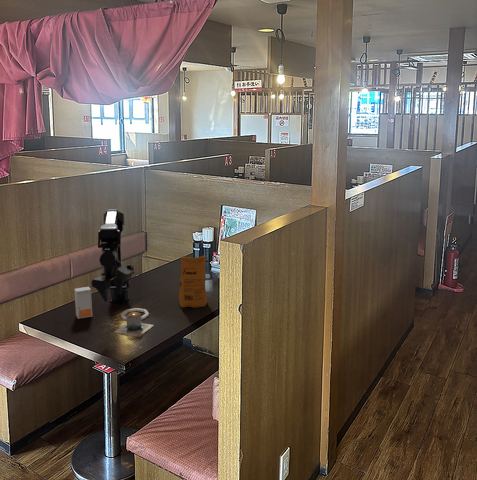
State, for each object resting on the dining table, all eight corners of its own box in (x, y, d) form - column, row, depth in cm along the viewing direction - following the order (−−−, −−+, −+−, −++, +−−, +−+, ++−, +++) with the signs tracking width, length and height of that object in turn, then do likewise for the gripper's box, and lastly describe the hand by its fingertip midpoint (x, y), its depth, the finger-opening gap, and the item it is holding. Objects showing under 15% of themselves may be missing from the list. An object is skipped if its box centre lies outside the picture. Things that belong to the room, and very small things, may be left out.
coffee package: (180, 299, 231) (178, 252, 225) (207, 299, 231) (207, 253, 225) (177, 308, 221) (176, 259, 215) (206, 308, 221) (206, 259, 216)
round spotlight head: (138, 332, 196) (138, 318, 195) (122, 329, 199) (121, 315, 197) (146, 326, 201) (145, 312, 200) (130, 324, 204) (129, 310, 202)
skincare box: (78, 319, 209) (75, 291, 206) (76, 315, 213) (73, 288, 209) (93, 316, 212) (91, 289, 209) (90, 313, 215) (88, 286, 212)
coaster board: (114, 332, 197) (114, 331, 197) (129, 321, 207) (129, 320, 207) (139, 337, 193) (139, 336, 193) (153, 325, 203) (153, 324, 203)
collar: (116, 318, 210) (116, 316, 210) (130, 308, 220) (130, 307, 220) (139, 322, 206) (139, 320, 206) (152, 312, 216) (152, 310, 216)
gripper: (115, 268, 185) (117, 309, 189) (141, 255, 202) (143, 292, 206) (88, 265, 188) (91, 305, 192) (117, 252, 205) (119, 288, 209)
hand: (112, 297), depth 200 cm, fingers open, 9 cm apart
